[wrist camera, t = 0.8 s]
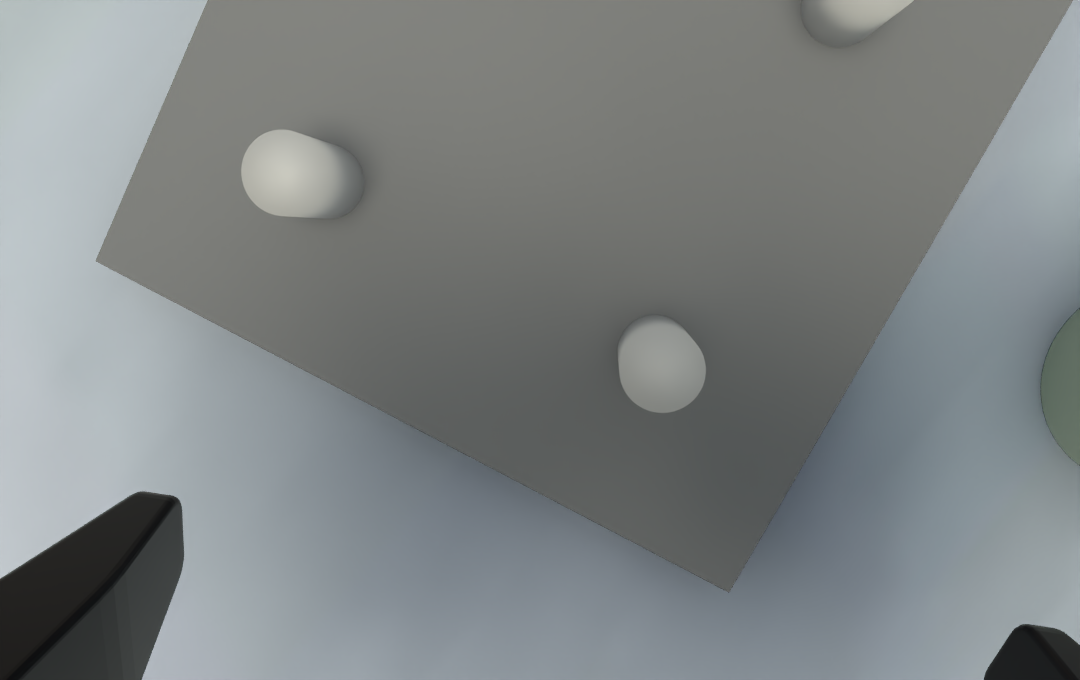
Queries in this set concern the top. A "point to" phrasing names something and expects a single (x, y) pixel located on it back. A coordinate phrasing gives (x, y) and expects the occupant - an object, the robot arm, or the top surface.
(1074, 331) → the post
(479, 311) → the peg board
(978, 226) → the top surface
